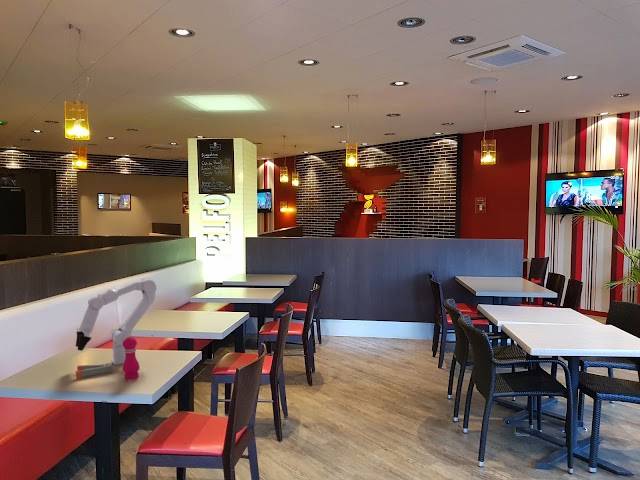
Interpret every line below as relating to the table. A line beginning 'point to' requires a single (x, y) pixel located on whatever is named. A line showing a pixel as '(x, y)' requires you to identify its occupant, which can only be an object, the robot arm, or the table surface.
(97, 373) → the tongs body
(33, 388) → the table surface
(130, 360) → the pepper mill
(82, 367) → the tongs jaw
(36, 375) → the table surface
